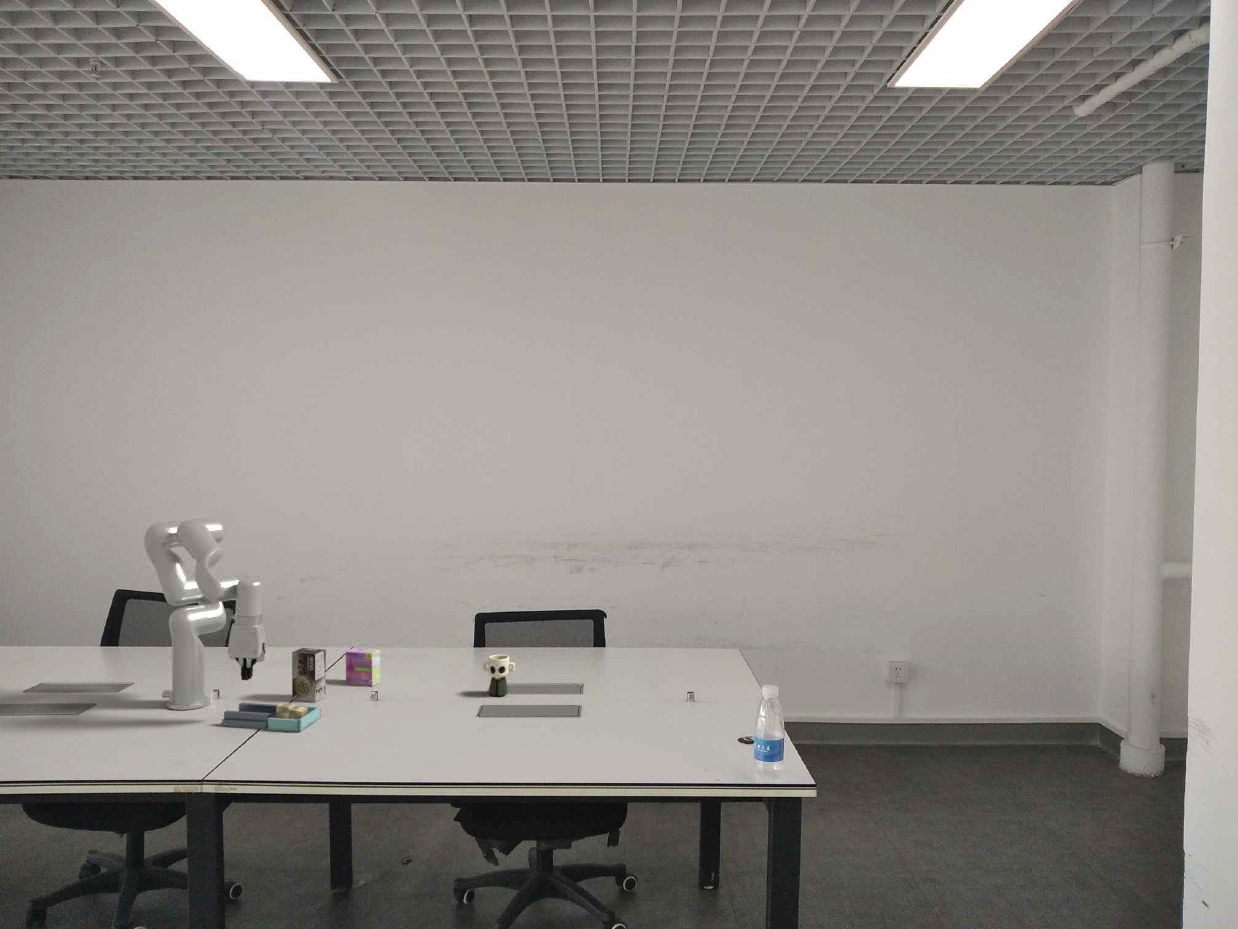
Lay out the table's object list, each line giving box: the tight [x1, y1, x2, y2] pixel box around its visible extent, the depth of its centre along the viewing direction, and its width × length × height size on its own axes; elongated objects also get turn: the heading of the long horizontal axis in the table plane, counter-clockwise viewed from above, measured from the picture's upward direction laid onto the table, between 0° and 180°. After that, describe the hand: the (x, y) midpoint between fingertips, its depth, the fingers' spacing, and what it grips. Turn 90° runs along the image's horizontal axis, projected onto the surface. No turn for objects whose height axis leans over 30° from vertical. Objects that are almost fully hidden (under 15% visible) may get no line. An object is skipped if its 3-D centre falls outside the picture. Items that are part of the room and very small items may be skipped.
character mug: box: [482, 654, 516, 696], centre depth 321 cm, size 11×7×13 cm, turn 87°
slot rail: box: [221, 702, 278, 730], centre depth 287 cm, size 14×12×4 cm
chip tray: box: [267, 705, 322, 733], centre depth 285 cm, size 10×14×4 cm
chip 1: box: [276, 701, 296, 719], centre depth 286 cm, size 4×4×4 cm
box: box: [345, 647, 381, 687], centre depth 332 cm, size 10×6×12 cm, turn 76°
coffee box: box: [291, 647, 327, 703], centre depth 312 cm, size 9×6×16 cm
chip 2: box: [288, 705, 308, 720], centre depth 285 cm, size 4×4×4 cm
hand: (246, 679), depth 287 cm, fingers closed
